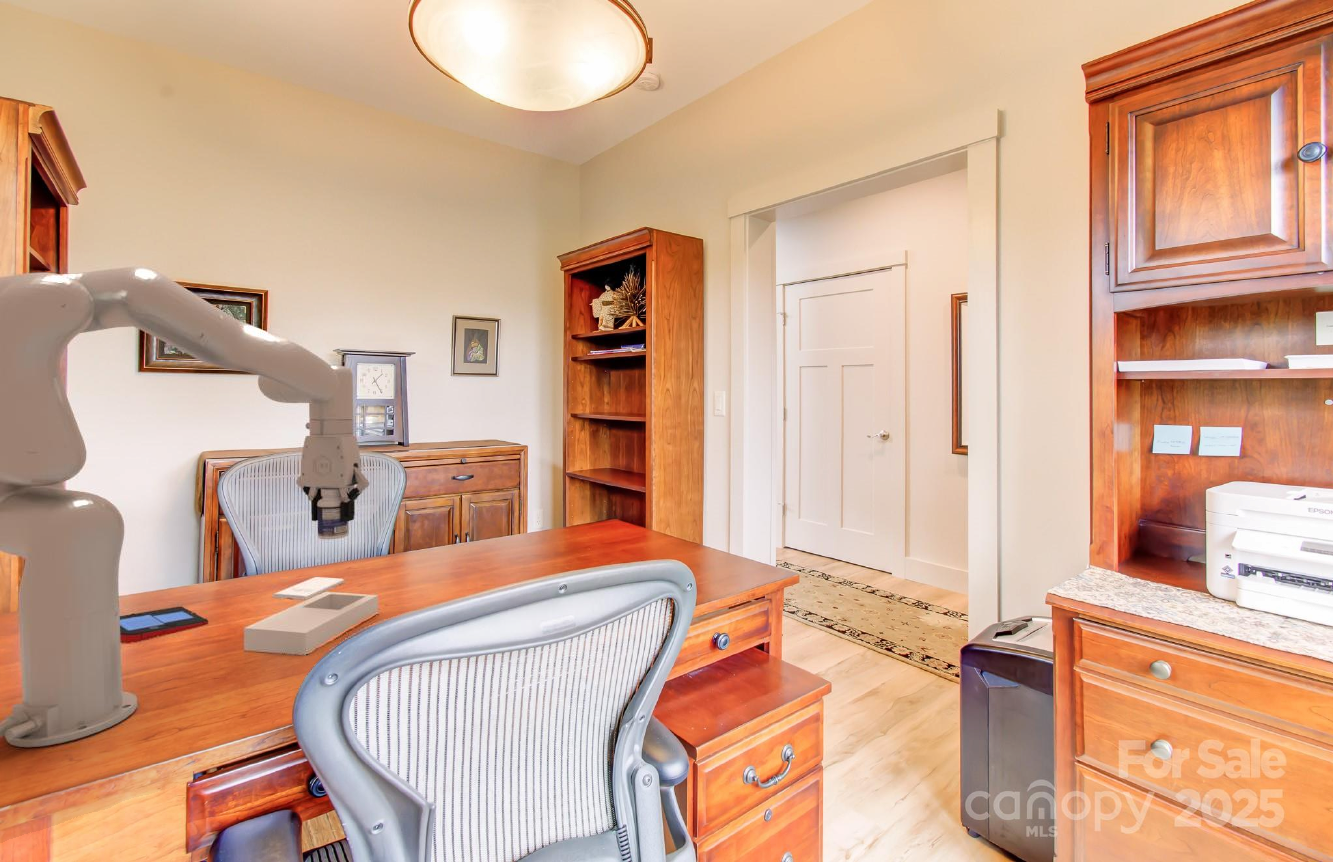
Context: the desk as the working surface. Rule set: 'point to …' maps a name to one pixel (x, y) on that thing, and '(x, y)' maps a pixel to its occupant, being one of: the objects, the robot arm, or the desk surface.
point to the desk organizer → (309, 623)
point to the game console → (157, 623)
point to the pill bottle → (331, 515)
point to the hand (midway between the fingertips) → (333, 519)
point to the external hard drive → (309, 588)
